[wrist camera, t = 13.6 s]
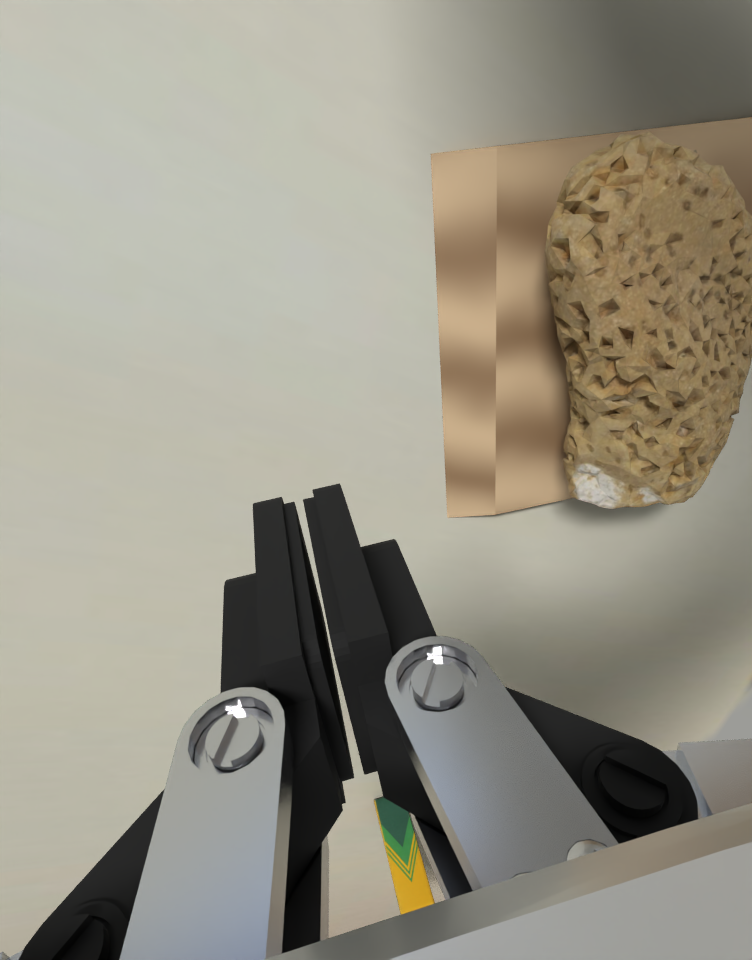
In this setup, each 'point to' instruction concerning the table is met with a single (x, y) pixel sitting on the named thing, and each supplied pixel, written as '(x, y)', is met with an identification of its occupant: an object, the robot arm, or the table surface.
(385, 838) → the crayon box
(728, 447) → the table surface
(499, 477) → the board
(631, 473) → the sponge
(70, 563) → the table surface
